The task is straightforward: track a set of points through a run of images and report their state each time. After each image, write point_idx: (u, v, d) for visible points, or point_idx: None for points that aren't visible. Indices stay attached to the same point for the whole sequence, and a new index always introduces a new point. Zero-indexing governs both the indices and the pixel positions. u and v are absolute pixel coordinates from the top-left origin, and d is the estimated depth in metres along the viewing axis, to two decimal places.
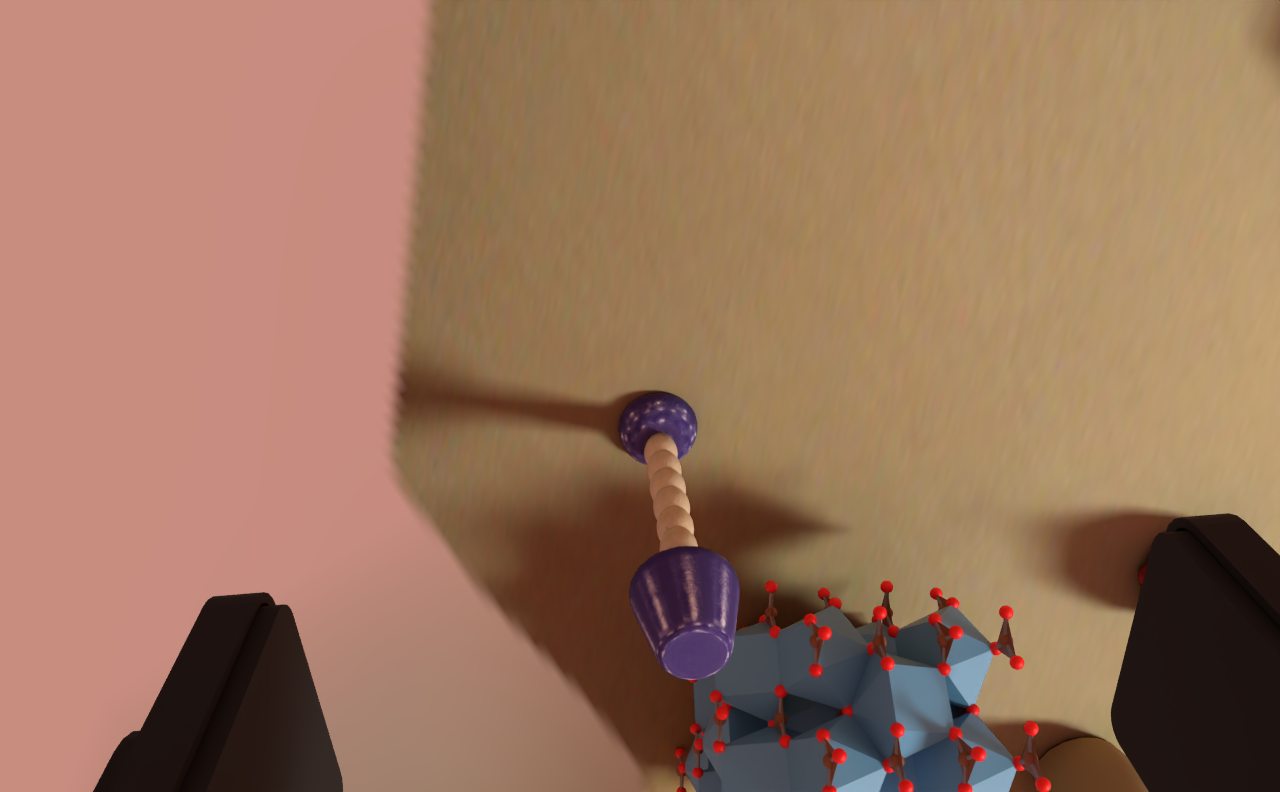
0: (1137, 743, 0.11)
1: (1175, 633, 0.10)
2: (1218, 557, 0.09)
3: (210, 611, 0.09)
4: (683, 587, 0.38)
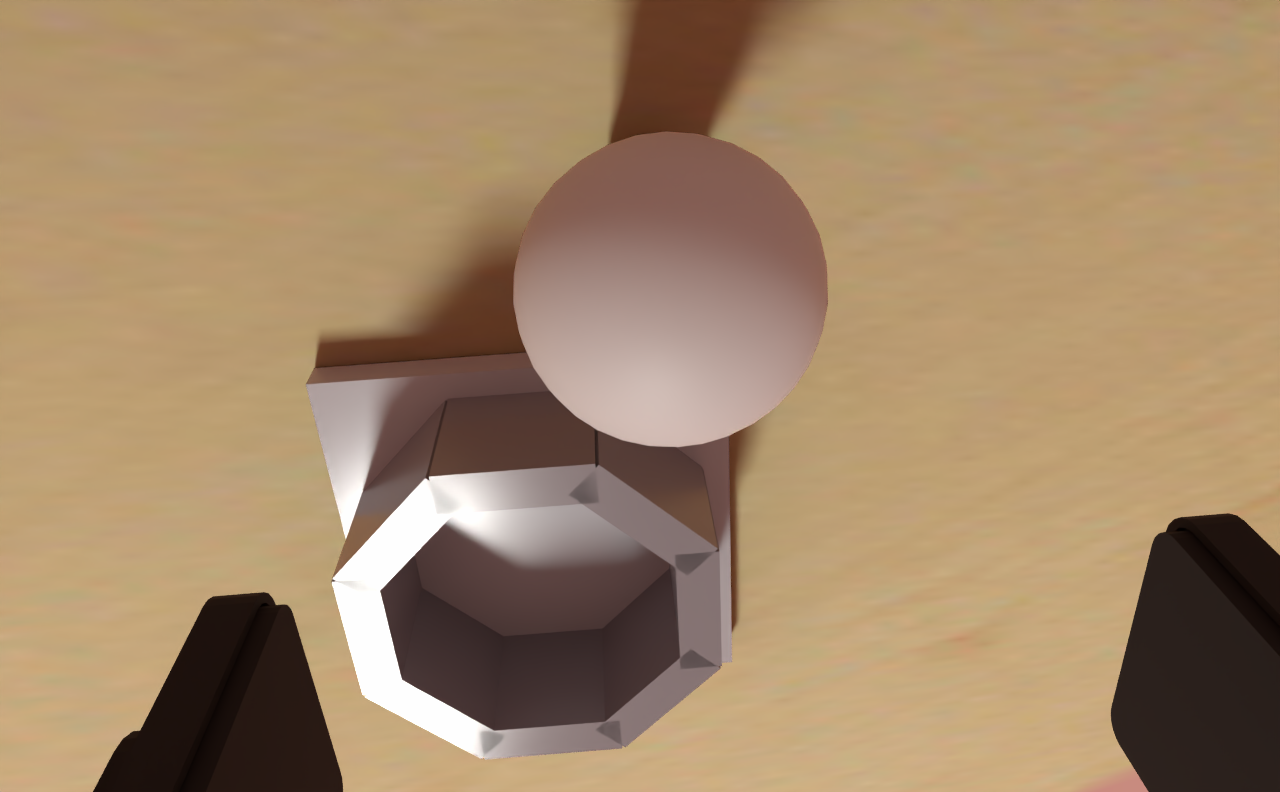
0: (1137, 743, 0.11)
1: (1175, 633, 0.10)
2: (1218, 557, 0.09)
3: (209, 611, 0.09)
4: None
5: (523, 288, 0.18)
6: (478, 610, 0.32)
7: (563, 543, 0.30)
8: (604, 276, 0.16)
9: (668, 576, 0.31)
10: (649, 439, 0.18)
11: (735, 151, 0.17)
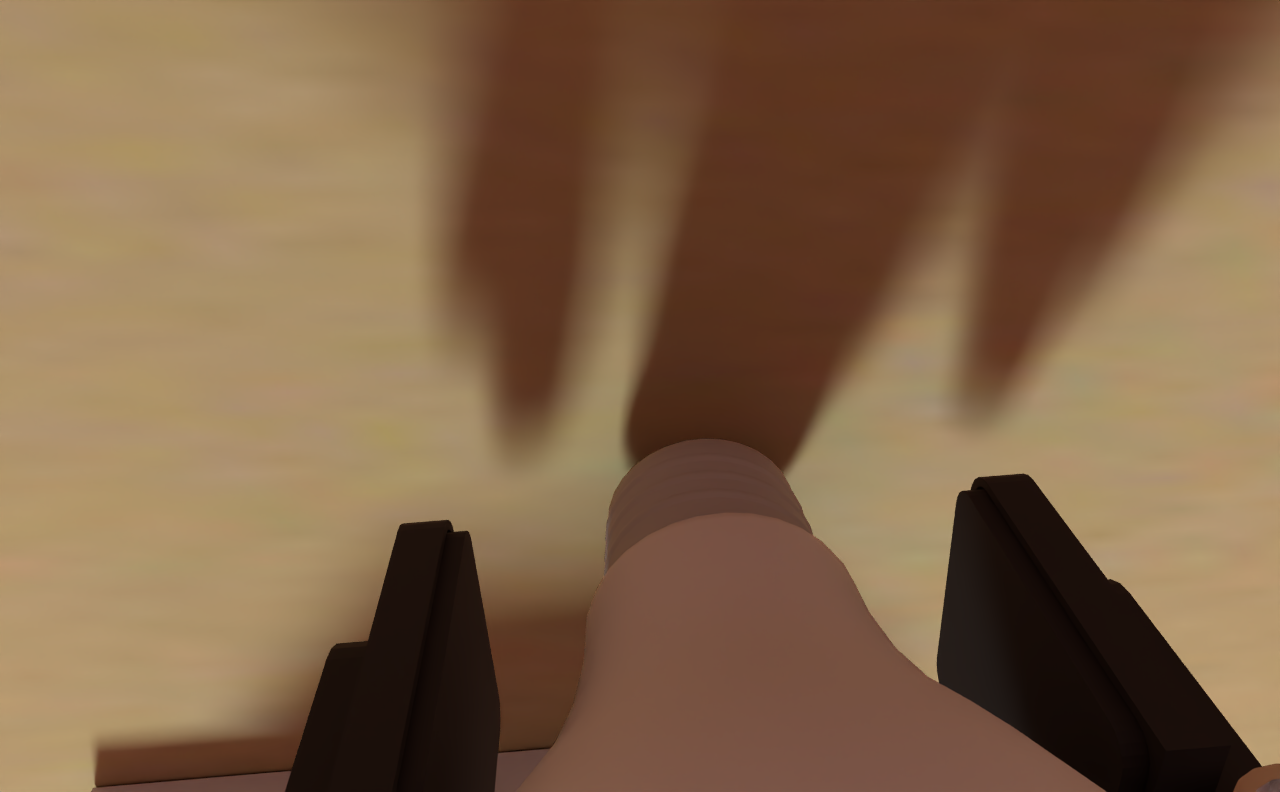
0: (953, 688, 0.11)
1: (971, 583, 0.11)
2: (1001, 511, 0.10)
3: (405, 535, 0.10)
4: None
5: None
6: None
7: None
8: None
9: None
10: None
11: None
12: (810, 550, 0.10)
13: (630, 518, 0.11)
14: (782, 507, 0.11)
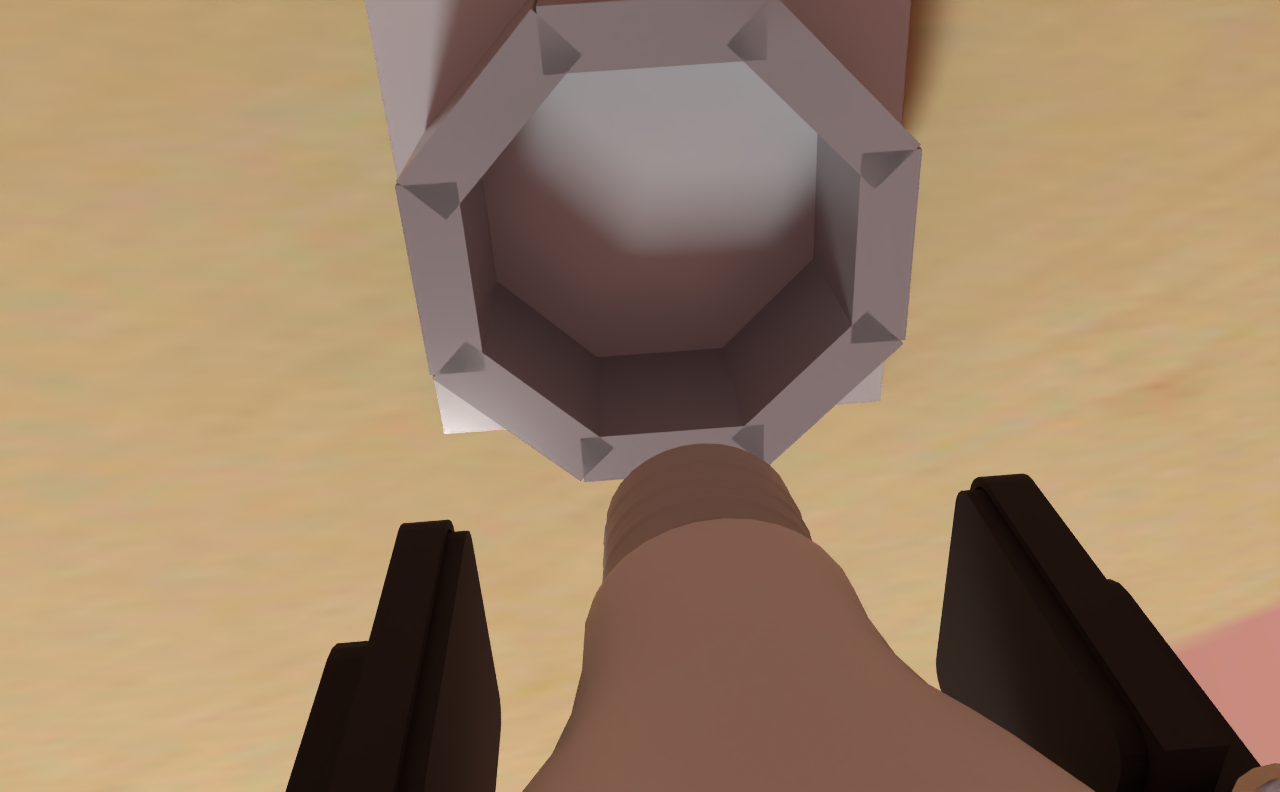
0: (952, 689, 0.11)
1: (971, 583, 0.11)
2: (1000, 511, 0.10)
3: (405, 535, 0.10)
4: None
5: None
6: (567, 317, 0.25)
7: (681, 217, 0.24)
8: None
9: (814, 265, 0.24)
10: None
11: None
12: (809, 556, 0.10)
13: (629, 524, 0.11)
14: (781, 512, 0.11)
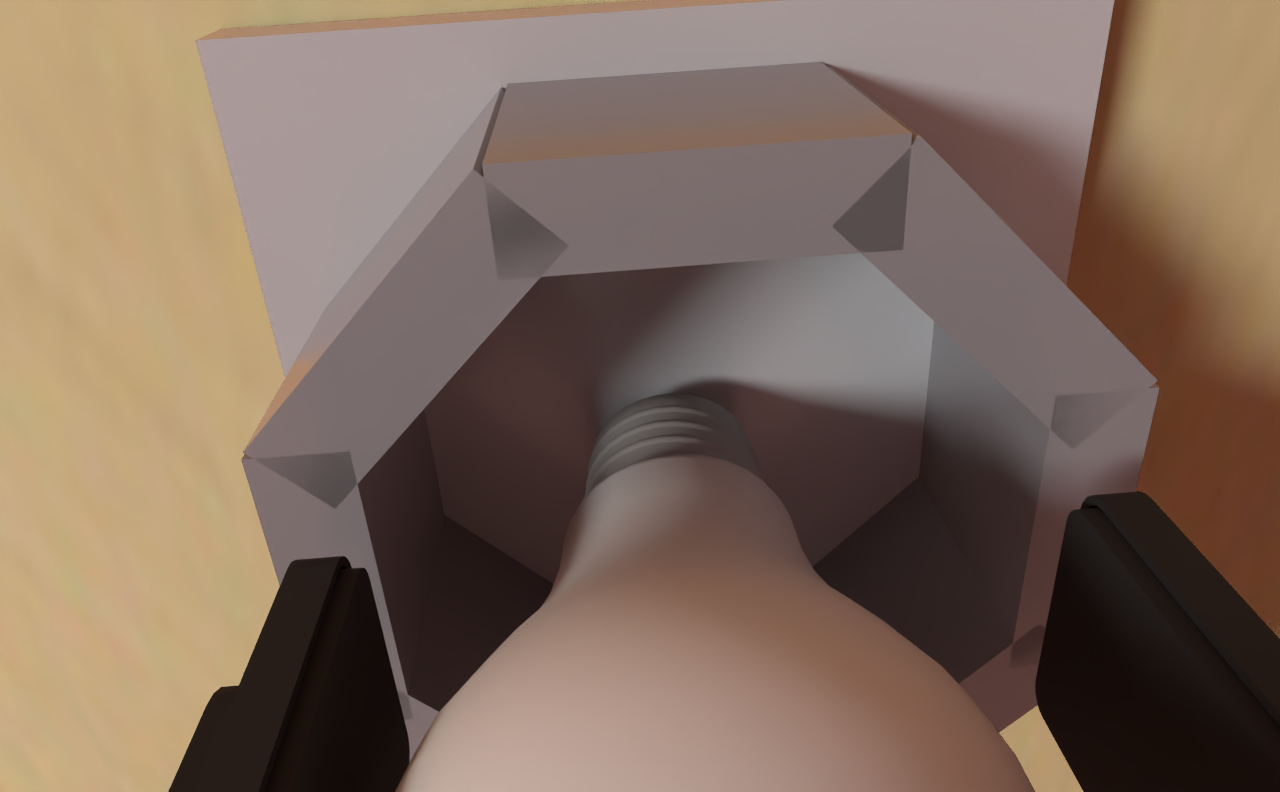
0: (1056, 713, 0.11)
1: (1085, 606, 0.10)
2: (1122, 531, 0.10)
3: (294, 572, 0.10)
4: None
5: None
6: None
7: None
8: None
9: None
10: None
11: (883, 720, 0.07)
12: (748, 486, 0.12)
13: (606, 459, 0.13)
14: (733, 452, 0.13)
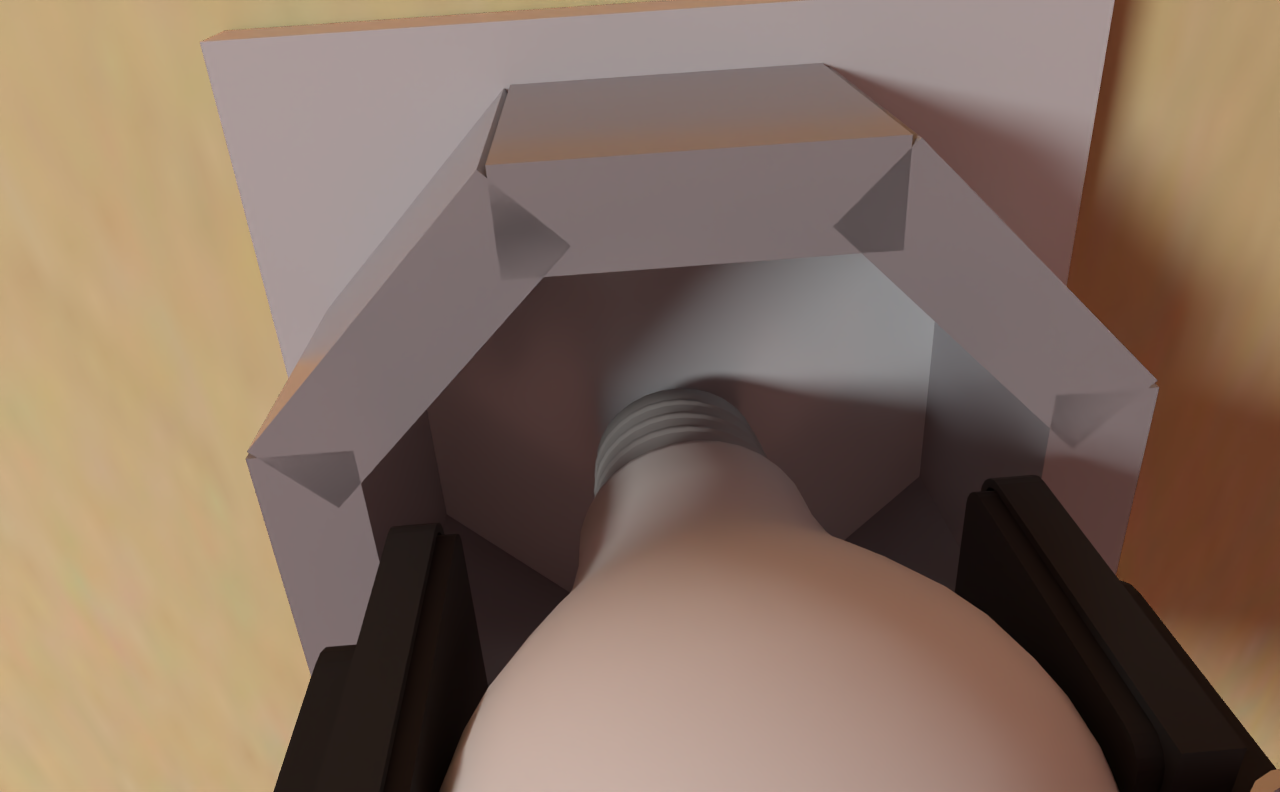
0: None
1: (981, 585, 0.10)
2: (1011, 512, 0.10)
3: (394, 538, 0.10)
4: None
5: None
6: None
7: None
8: None
9: None
10: None
11: (953, 654, 0.07)
12: (765, 468, 0.12)
13: (616, 453, 0.13)
14: (744, 440, 0.13)
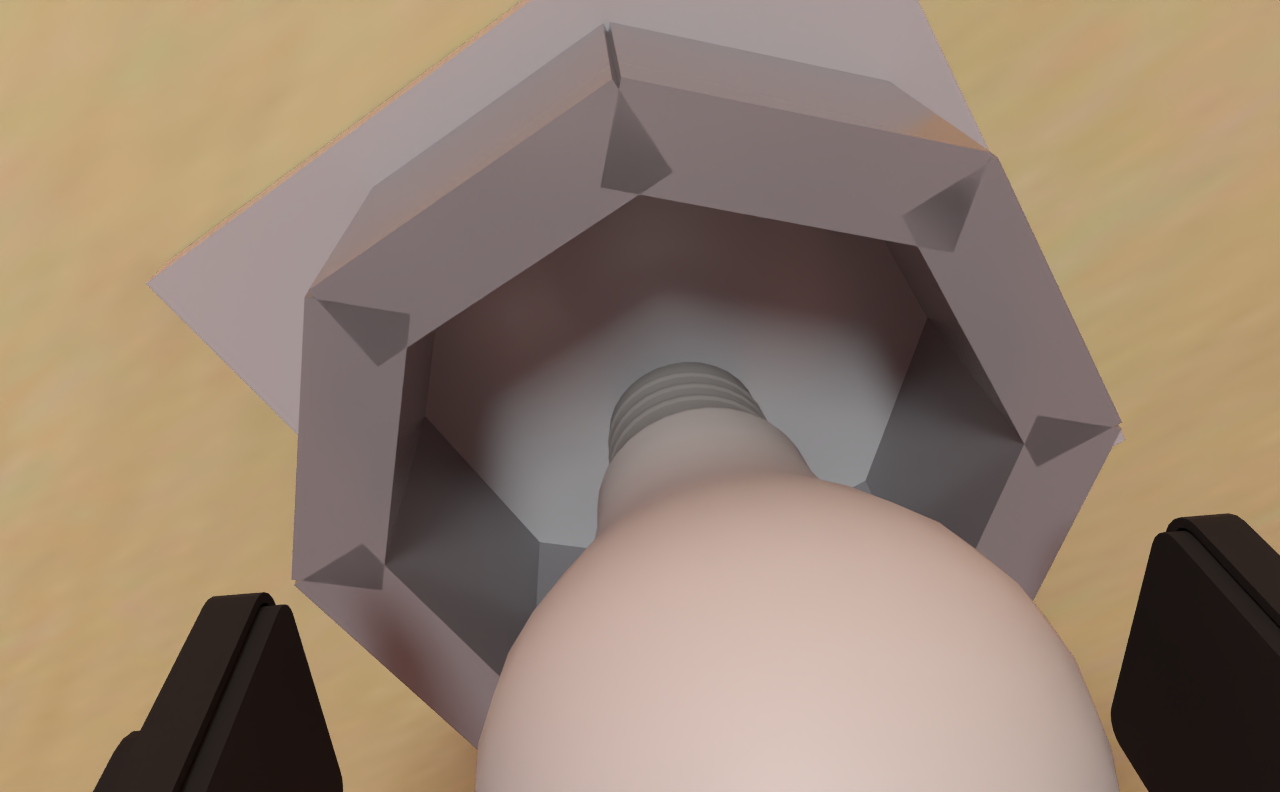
0: (1137, 743, 0.11)
1: (1175, 633, 0.10)
2: (1218, 557, 0.09)
3: (210, 611, 0.09)
4: None
5: None
6: None
7: (628, 374, 0.16)
8: None
9: (422, 422, 0.16)
10: None
11: (949, 571, 0.08)
12: (771, 432, 0.13)
13: (631, 419, 0.14)
14: (749, 408, 0.14)
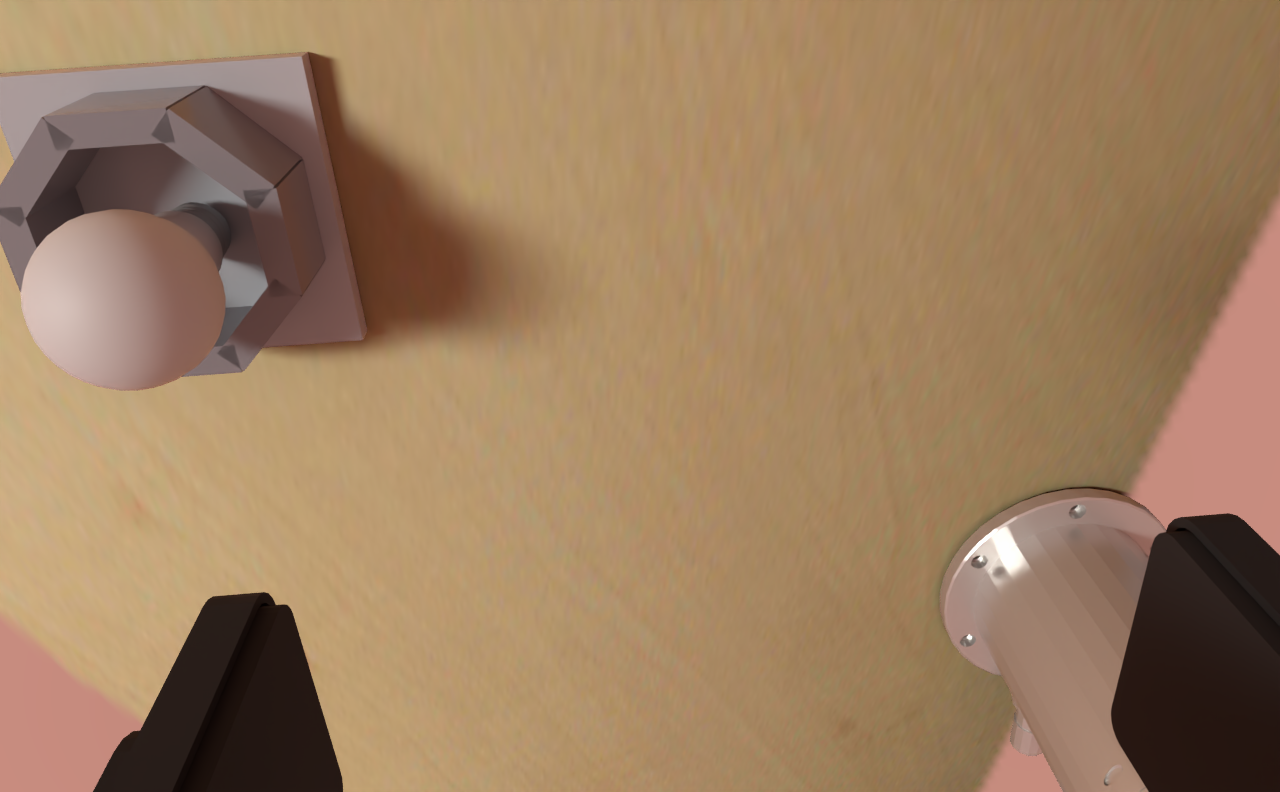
0: (1138, 743, 0.11)
1: (1175, 633, 0.10)
2: (1218, 557, 0.09)
3: (210, 611, 0.09)
4: None
5: None
6: (100, 167, 0.38)
7: None
8: (42, 343, 0.31)
9: None
10: (157, 368, 0.32)
11: (46, 236, 0.31)
12: None
13: None
14: None
